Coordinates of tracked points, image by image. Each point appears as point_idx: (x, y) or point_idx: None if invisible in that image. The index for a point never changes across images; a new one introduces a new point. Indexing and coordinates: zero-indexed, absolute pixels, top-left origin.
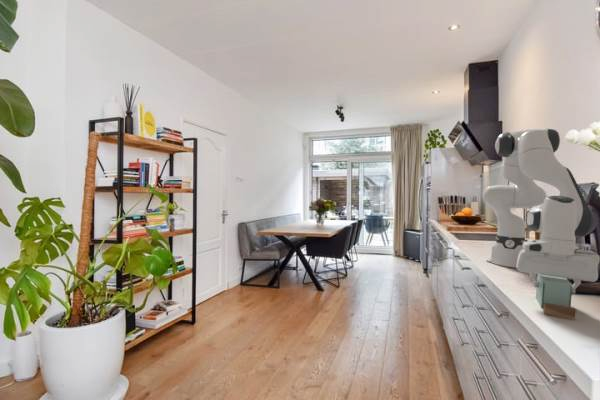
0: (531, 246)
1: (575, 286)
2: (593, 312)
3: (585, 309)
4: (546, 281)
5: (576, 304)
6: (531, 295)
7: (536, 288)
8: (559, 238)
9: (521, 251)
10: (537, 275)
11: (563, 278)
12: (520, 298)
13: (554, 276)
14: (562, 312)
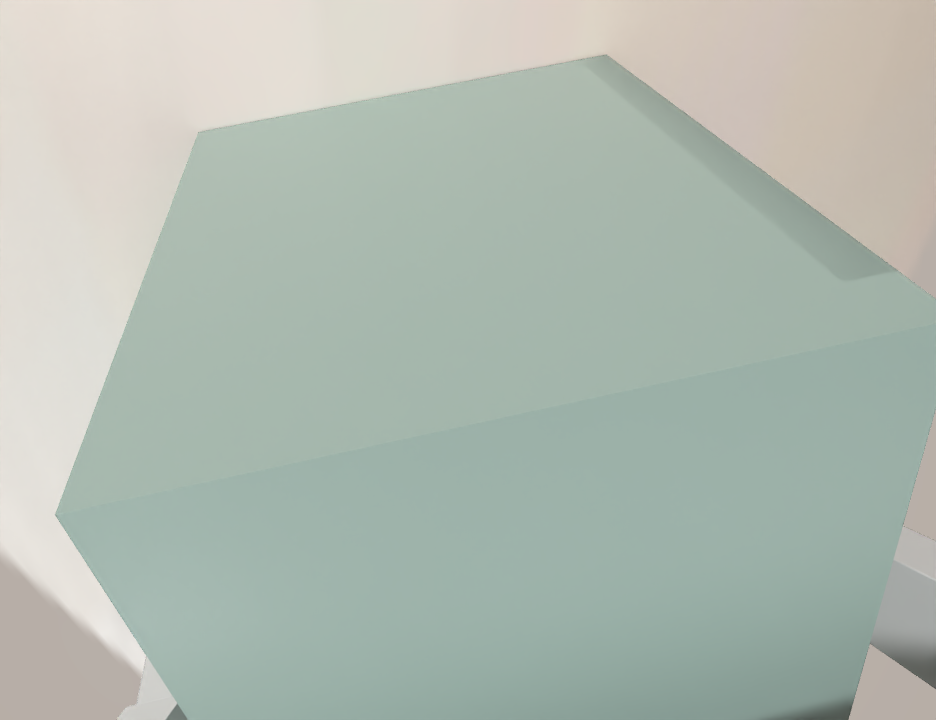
0: None
1: (890, 640)
2: (904, 267)
3: (853, 206)
4: None
5: (816, 7)
6: (92, 20)
7: (171, 211)
8: None
9: None
10: (95, 434)
11: (797, 655)
12: (30, 391)
13: (607, 639)
14: None
